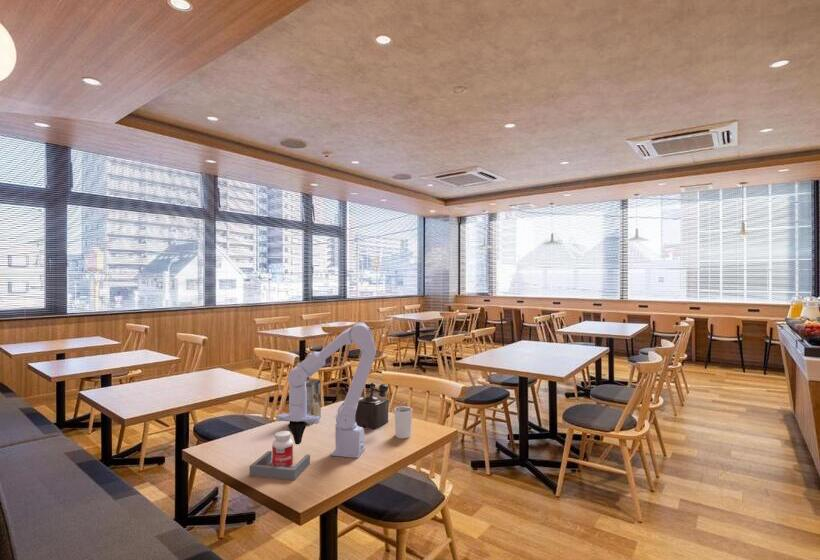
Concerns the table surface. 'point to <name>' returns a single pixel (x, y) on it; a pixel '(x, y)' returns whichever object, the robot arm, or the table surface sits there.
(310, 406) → the coffee box
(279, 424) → the table surface
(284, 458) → the pill bottle
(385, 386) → the manual coffee grinder
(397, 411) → the drinking glass
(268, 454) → the box
